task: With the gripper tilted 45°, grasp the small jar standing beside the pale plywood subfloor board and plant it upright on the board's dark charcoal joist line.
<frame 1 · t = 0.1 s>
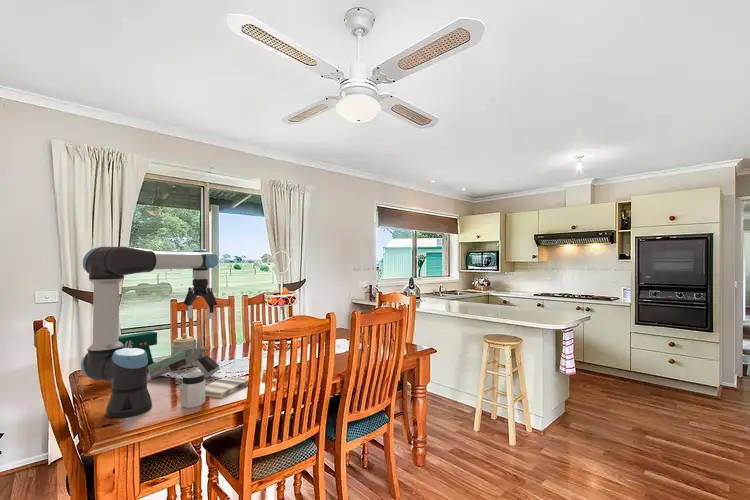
hand: (199, 318, 198), 28 cm above the table, tool pointing down, fingers open, 13 cm apart
jar 2: (184, 365, 208), on the table
power tool: (122, 376, 188), on the table
jar: (193, 404, 152), on the table
subfloor board: (224, 388, 170), on the table
ray gun: (184, 377, 187), on the table
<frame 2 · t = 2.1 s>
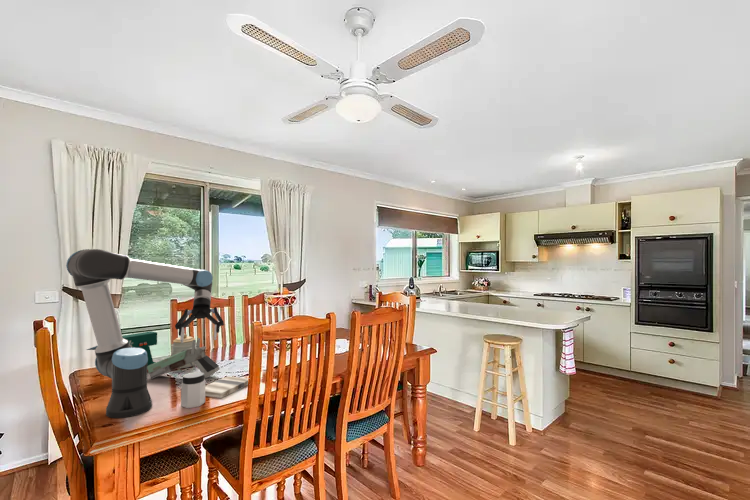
hand: (198, 340, 165), 24 cm above the table, tool tilted 45°, fingers open, 13 cm apart
nothing on the table moved.
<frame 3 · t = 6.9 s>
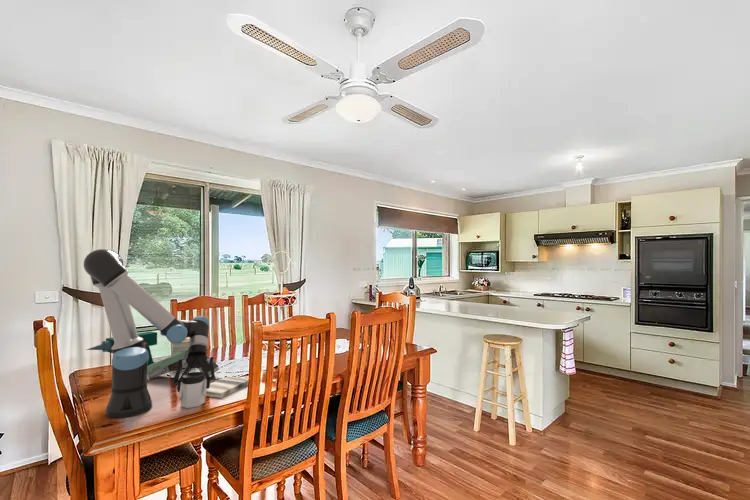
hand: (192, 397, 149), 4 cm above the table, tool tilted 45°, fingers open, 8 cm apart
jar: (193, 404, 152), on the table, touching gripper
everything else where it was.
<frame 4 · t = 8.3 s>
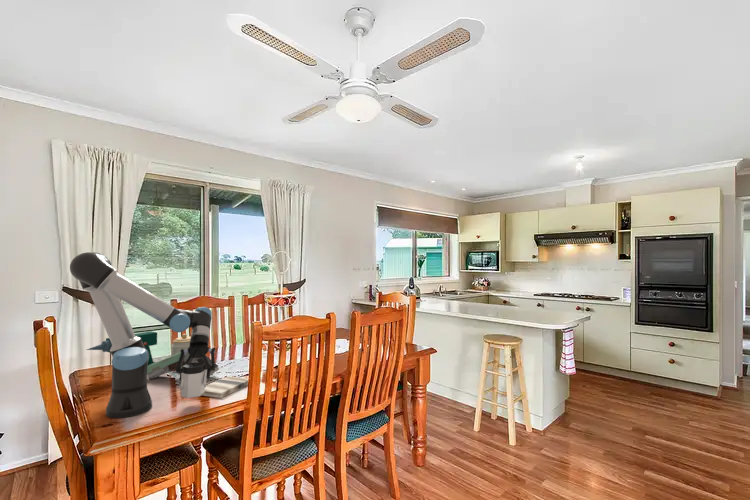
hand: (193, 386, 149), 8 cm above the table, tool tilted 45°, fingers closed on jar, 7 cm apart
jar: (192, 394, 152), point 4 cm above the table, touching gripper
everything else where it was.
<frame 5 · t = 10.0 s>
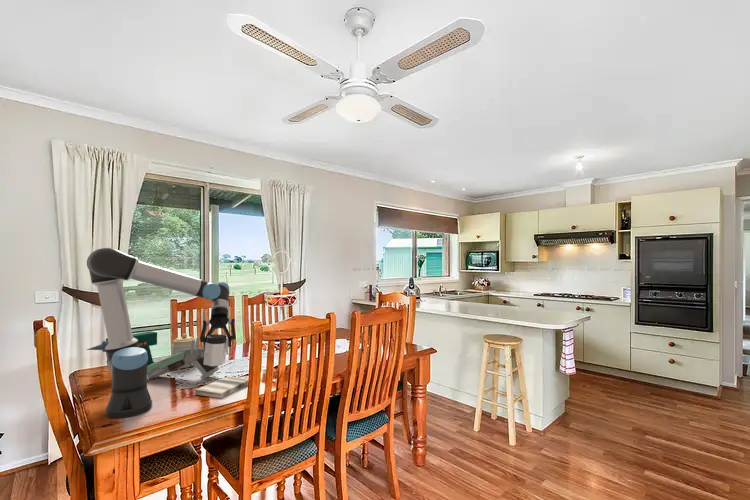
hand: (217, 353, 161), 18 cm above the table, tool tilted 45°, fingers closed on jar, 7 cm apart
jar: (214, 364, 163), point 13 cm above the table, touching gripper
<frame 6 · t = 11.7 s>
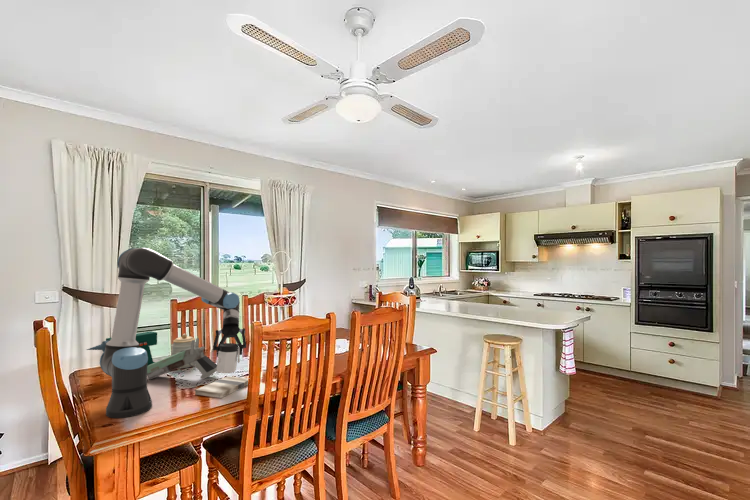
hand: (229, 361, 171), 12 cm above the table, tool tilted 45°, fingers closed on jar, 7 cm apart
jar: (226, 371, 172), point 7 cm above the table, touching gripper
when the fingers open (7 cm above the table, at t = 13.2 s): jar stays where it is, resting on subfloor board.
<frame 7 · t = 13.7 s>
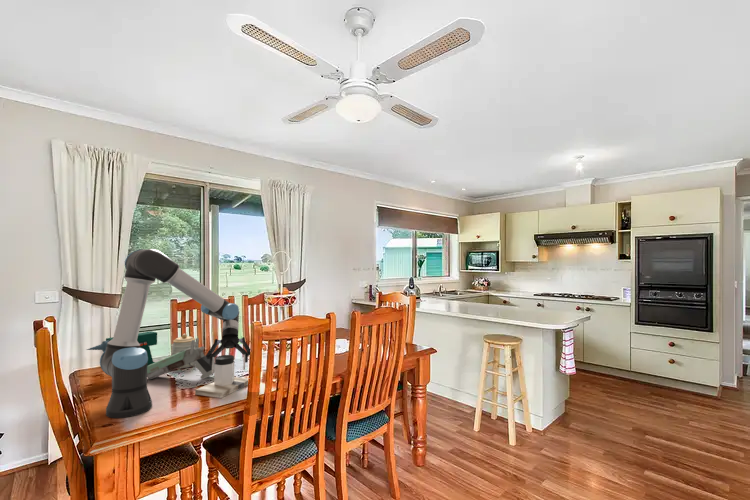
hand: (228, 369, 171), 8 cm above the table, tool tilted 45°, fingers open, 13 cm apart
jar: (224, 383, 172), point 2 cm above the table, touching subfloor board
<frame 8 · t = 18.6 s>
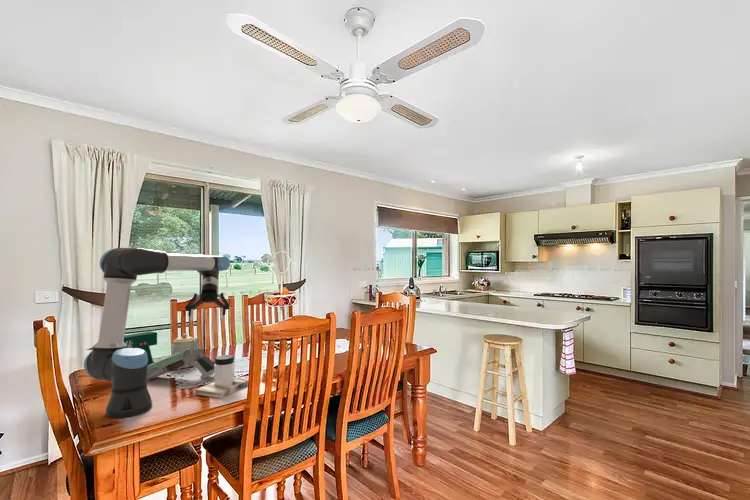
hand: (206, 320, 180), 30 cm above the table, tool tilted 45°, fingers open, 13 cm apart
at the end: jar inside the target area on the subfloor board (2.0 cm from its centre), point 1.8 cm above the subfloor board's base; jar tilted 0°; the gripper is holding nothing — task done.
